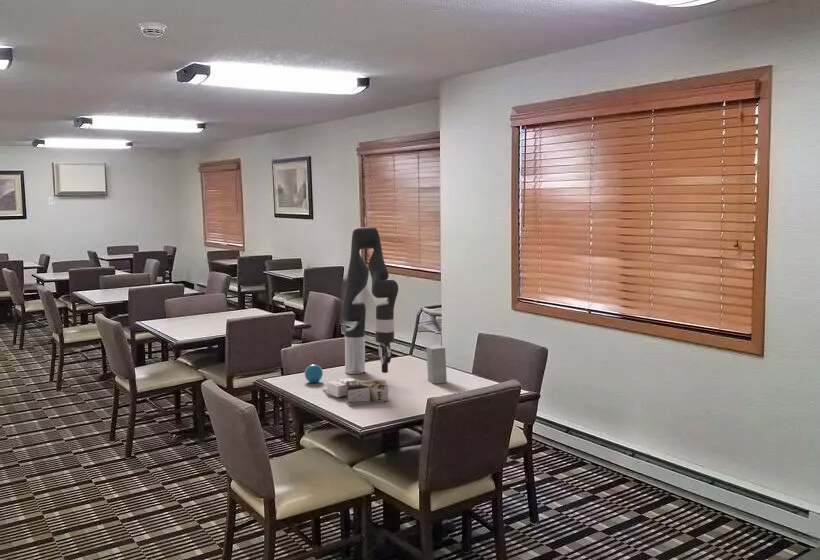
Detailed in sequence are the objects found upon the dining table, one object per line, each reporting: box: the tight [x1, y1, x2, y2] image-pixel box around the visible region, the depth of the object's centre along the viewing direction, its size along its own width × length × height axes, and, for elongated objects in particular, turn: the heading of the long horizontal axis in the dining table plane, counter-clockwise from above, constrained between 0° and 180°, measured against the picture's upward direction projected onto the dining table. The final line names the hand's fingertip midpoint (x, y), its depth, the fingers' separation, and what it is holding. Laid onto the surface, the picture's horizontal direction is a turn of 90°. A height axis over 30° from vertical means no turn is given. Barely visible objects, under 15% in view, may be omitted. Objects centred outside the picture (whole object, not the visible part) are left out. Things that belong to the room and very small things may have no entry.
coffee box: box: [345, 379, 389, 402], centre depth 276 cm, size 9×6×16 cm
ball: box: [304, 364, 324, 384], centre depth 302 cm, size 8×8×8 cm
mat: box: [322, 388, 386, 407], centre depth 280 cm, size 26×20×1 cm
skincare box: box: [425, 344, 448, 385], centre depth 304 cm, size 8×7×16 cm
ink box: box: [326, 377, 360, 398], centre depth 284 cm, size 9×5×12 cm
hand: (384, 372), depth 276 cm, fingers closed
